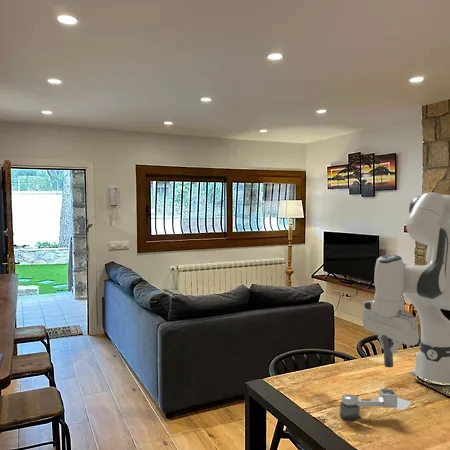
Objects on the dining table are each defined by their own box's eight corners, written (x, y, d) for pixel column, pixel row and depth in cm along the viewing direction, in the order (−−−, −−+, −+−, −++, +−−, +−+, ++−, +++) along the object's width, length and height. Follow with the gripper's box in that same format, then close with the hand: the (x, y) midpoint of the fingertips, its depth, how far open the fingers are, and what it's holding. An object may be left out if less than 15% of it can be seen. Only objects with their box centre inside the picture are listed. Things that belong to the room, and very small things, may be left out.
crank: (343, 407, 130) (343, 394, 130) (340, 399, 135) (340, 387, 135) (397, 408, 129) (397, 395, 129) (392, 400, 134) (392, 388, 134)
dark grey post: (389, 363, 132) (388, 332, 131) (395, 366, 129) (393, 335, 129) (382, 364, 131) (381, 334, 131) (387, 368, 129) (386, 336, 128)
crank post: (345, 410, 137) (345, 398, 137) (362, 416, 133) (362, 403, 133) (336, 416, 132) (336, 404, 132) (354, 423, 128) (354, 410, 128)
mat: (388, 396, 146) (388, 395, 146) (412, 403, 141) (412, 401, 141) (379, 404, 140) (379, 403, 140) (403, 412, 135) (403, 410, 135)
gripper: (424, 313, 121) (423, 360, 122) (374, 299, 140) (374, 340, 141) (407, 316, 119) (407, 363, 119) (359, 301, 138) (359, 342, 138)
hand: (389, 350), depth 130 cm, fingers closed on dark grey post, 3 cm apart
